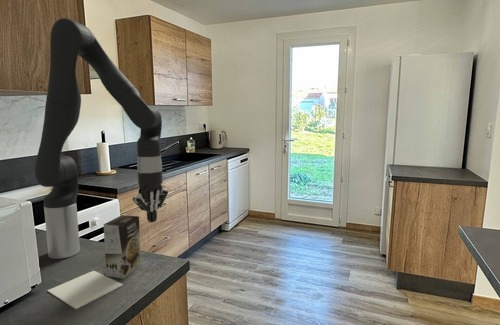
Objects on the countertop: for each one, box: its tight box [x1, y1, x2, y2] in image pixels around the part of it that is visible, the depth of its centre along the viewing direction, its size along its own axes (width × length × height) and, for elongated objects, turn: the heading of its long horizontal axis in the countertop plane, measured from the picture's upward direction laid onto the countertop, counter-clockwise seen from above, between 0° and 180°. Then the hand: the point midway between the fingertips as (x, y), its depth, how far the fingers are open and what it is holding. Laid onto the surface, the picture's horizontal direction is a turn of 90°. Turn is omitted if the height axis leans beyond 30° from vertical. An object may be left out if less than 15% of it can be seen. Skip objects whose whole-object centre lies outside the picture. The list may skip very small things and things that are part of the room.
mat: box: [47, 270, 124, 310], centre depth 85 cm, size 14×13×1 cm
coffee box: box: [103, 215, 142, 279], centre depth 94 cm, size 9×6×16 cm
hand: (152, 221), depth 102 cm, fingers closed
